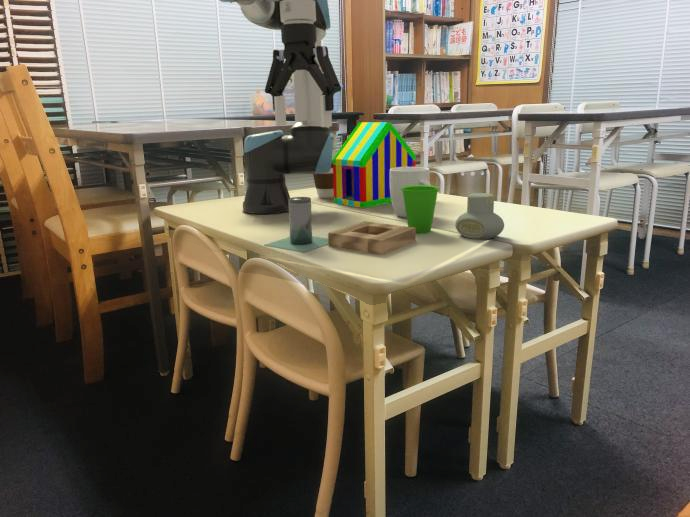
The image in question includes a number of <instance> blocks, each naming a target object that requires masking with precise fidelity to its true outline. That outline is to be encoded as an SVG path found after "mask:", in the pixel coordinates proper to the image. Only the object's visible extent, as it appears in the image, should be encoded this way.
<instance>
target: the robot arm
mask: <svg viewBox="0 0 690 517" xmlns="http://www.w3.org/2000/svg"><path fill="white" fill-rule="evenodd" d="M219 2H221V3H230V4H232V3H237V5H238V6H239V7H240V10H241V13H242V14H243V16H244V17H245V18H246V20H248V21H249V23H252V24H254V25H256V26H259V27H262V28H265V29H269V30H274V31H275V30H277V31H280V32H281V33H280V34H281V35H280V36H281V43H282V44H283V46H284V48H283V49H273V51H272V62H271V66H270V70H269V73H268V76H267V80H266V83H265V88H264V93H265V94H269V95H270V96H271V97H272V110H273V111H274V116H275V118H274V119H275V126H276V127H281V126H287V115H286V96H285V95H284V94H283V93H284V90H285V89H286V87H287V85H288V84H289V81H290V79H291V78H293V98H294V100H293V102H294V124H293V125H292V126H291V127H290V128H289V129H290V130H289V131H290V134H284V132H283V130H281V129H280V130H274V131H273V130H272V131H267V132H266V131H265V132H261V133H256V134H250V135H247V136H246V137H245V139H244V143H243V145H244V146H243V149H244V151H243V153H244V162H245V174H246V176H245V178H246V189H245V194H244V200H243V202H242V212H243V213H246V214H251V215H252V214H254V215H266V214H268V215H269V214H279V213H286V212H289V203H288V199H289V198H291V196H290V193H289V189H288V187H287V183H286V181H287V180H286V175H287V176H288V175H313V174H319V173H327V172H329V171H330V169H331V164H332V160H333V154H334V143H335V142H334V141H335V134H334V133H332V132H330V127H333V118H332V115H333V114H332V111H334V108H335V106H334V95H335V94H336V93H338V92H341V91H342V87H341V86H342V85H341V84H340V82H339V79H338V76H337V75H336V74H337V73H336V71H335V70H334V67H333V64H332V62H331V59H330V57H329V48H328V47H327V45H322V40H323V39H324V38H325V37H326V36H327V30H329V29H331V18H330V9H329V3H328V2H329V1H328V0H219ZM292 75H293V76H292Z"/></svg>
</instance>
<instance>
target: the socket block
mask: <svg viewBox="0 0 690 517" xmlns="http://www.w3.org/2000/svg"><path fill="white" fill-rule="evenodd" d="M416 234H417V233H416V228H414V227H408V226H406V225H397V224H389V223H382V222H381V223H380V222H374V221H361V222H358V223H354V224H351V225H348V226H345V227H342V228H339V229H336V230H333V231H329V232H327V236H328V237H327V239H328V245H327V246H328V247H332V248H339V249H343V250H349V251H356V252H360V253H361V252H362V253H368V254H373V255H374V254H375V255H381V256H383V255H385V254H388V253H390V252H393V251H395V250H397V249H400V248H402V247H404V246H407V245H409V244H411V243H412V244H413V242H416V240H417V239H416V238H417V236H416Z"/></svg>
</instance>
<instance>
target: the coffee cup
mask: <svg viewBox="0 0 690 517" xmlns="http://www.w3.org/2000/svg"><path fill="white" fill-rule="evenodd" d="M312 176H313V181H314V186H315V189H316V193H317V194H316V195H317V196H318V198H319V197H320V198H319V199H334V185H333V159H332V164H331V169H330V171H329V172H327V173H319V174H312Z"/></svg>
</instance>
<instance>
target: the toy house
mask: <svg viewBox="0 0 690 517" xmlns="http://www.w3.org/2000/svg"><path fill="white" fill-rule="evenodd" d="M332 160H333V185H334V198H333V204H337V203H338V205H343V204H344V206H349V205H350V207H357V208H362V209H363V208H368V207H374V206H380V205H384V204H389V203H392V201H391V196H390V169H391V168H396V167H416V154H415V152H414V151H413V150H412V149H411V147H410V146H409V145H408V143H407V142H406V141H405V139H404V138H403V137H402V136H401V134H400V133H399V132H398V131H397V129H396V128H395V126H394V125H393V124H392V123H391V122H387V121H386V122H381V121H379V122H378V121H377V122H375V121H374V122H373V121H372V122H371V121H370V122H368V121H365V122H364V121H363V122H360V121H359V122H358V124H357V125H356V126H355V128H354V129H353V130H352V132H351V133H350V134H349V136H348V137H347V138H346V140H345V141H344V143H343V144H342V146H341V147H340V148H339V150H338V151H337V152H336V154H335V155H334V157H332Z"/></svg>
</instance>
